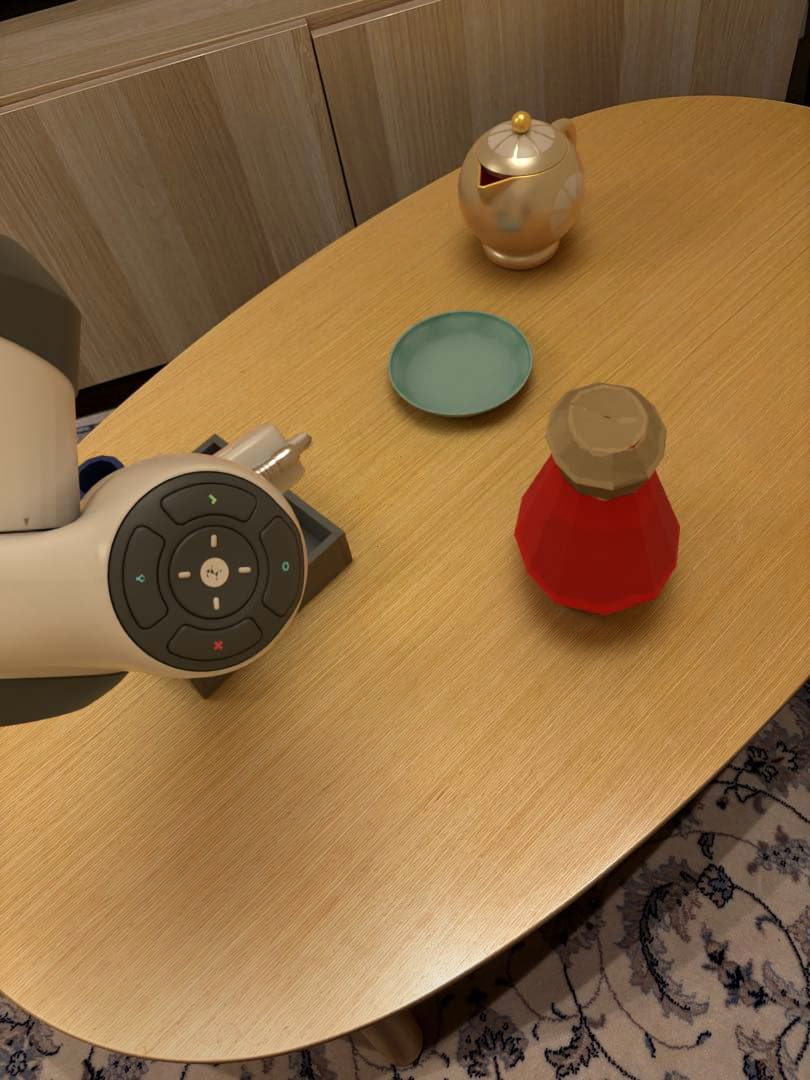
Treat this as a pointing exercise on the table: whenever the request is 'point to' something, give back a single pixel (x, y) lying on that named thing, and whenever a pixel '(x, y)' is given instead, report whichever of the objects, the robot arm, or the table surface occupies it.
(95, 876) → the table surface
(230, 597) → the robot arm
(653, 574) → the bottle
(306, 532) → the tray
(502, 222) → the teapot
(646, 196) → the table surface
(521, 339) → the saucer
